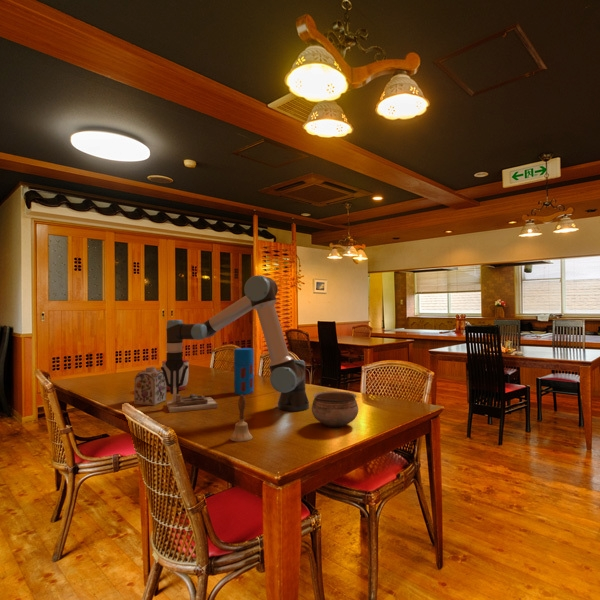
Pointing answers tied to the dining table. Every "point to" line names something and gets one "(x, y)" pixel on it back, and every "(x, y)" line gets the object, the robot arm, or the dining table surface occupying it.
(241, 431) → the hand bell
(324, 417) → the cooking pot
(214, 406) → the keyhole board
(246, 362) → the thermos
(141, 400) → the decorative jar
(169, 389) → the citrus juicer
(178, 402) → the walnut panel
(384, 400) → the dining table surface
